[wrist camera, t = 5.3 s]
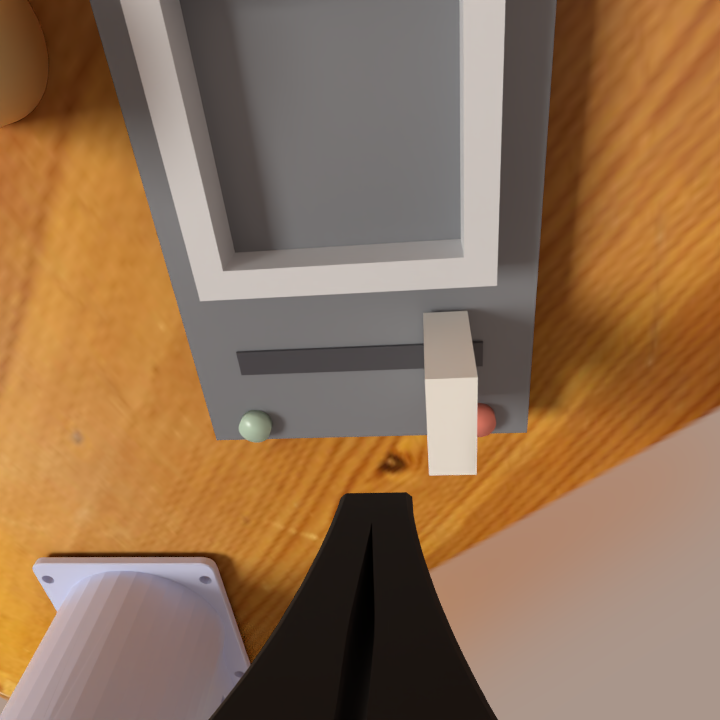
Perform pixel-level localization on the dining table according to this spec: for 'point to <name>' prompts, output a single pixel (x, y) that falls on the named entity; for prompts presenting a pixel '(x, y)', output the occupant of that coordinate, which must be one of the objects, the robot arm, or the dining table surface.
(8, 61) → the beige cylinder
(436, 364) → the lever
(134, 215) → the dining table surface
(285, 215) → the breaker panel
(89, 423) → the dining table surface
